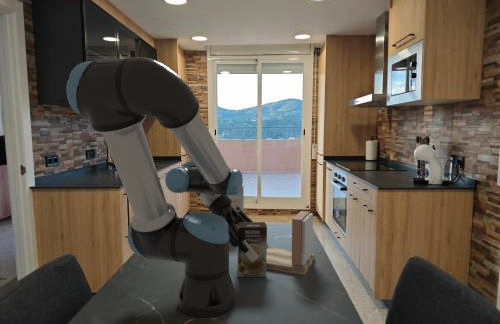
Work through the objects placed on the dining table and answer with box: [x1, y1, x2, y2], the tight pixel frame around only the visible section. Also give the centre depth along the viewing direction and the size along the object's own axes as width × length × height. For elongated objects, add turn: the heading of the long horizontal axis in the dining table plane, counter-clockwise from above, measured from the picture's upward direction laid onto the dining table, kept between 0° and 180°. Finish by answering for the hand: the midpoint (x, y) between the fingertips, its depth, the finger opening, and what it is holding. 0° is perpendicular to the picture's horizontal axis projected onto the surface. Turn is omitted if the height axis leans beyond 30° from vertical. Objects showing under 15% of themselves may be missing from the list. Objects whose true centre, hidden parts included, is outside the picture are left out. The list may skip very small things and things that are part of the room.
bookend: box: [292, 212, 314, 267], centre depth 112 cm, size 11×4×15 cm, turn 157°
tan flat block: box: [291, 210, 310, 265], centre depth 113 cm, size 11×3×15 cm, turn 157°
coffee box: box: [236, 221, 268, 278], centre depth 107 cm, size 9×6×16 cm
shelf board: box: [266, 246, 315, 276], centre depth 116 cm, size 14×18×2 cm
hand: (261, 254), depth 106 cm, fingers closed on coffee box, 9 cm apart
